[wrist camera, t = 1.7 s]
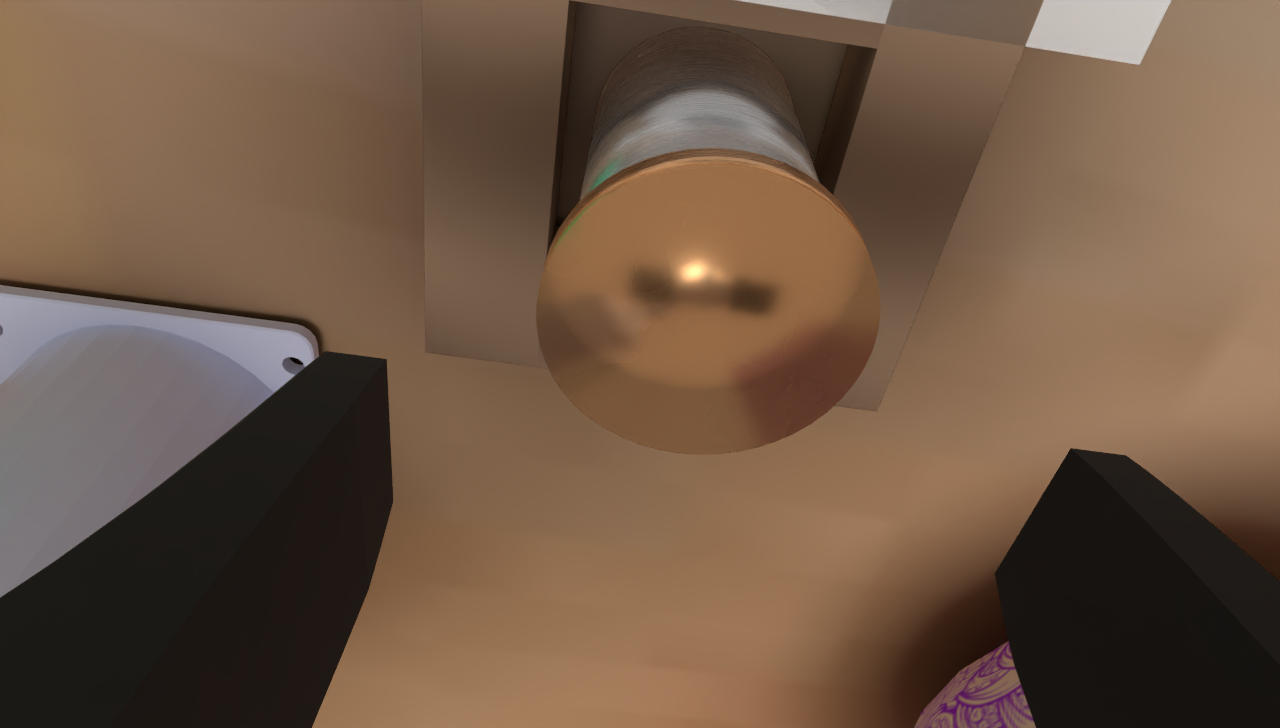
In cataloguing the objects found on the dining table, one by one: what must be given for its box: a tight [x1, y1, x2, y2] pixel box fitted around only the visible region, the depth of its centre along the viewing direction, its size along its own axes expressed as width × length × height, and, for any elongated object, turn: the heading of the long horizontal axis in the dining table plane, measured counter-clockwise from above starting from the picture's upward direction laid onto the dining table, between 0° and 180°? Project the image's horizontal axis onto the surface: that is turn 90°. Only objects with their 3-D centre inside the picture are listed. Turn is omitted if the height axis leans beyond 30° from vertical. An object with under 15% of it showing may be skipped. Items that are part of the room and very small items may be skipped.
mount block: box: [422, 0, 1043, 411], centre depth 16 cm, size 10×10×2 cm
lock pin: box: [536, 27, 881, 454], centre depth 14 cm, size 5×5×7 cm
